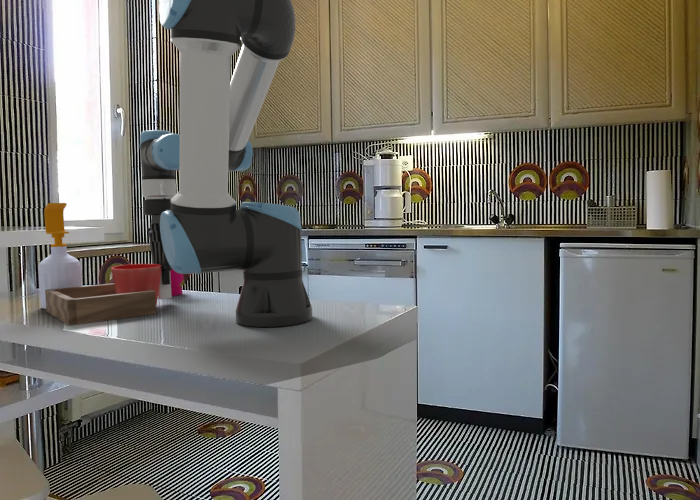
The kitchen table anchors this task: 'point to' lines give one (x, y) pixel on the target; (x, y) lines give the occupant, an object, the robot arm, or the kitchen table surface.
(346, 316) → the kitchen table surface
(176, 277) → the pepper mill
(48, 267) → the soap bottle
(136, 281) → the flower pot
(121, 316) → the tray
